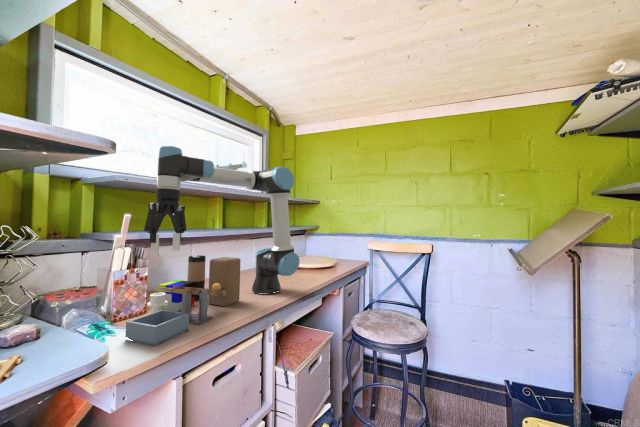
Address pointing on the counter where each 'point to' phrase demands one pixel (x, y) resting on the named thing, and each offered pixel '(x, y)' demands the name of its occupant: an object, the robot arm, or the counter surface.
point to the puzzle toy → (176, 295)
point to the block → (225, 280)
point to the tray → (157, 327)
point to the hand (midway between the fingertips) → (165, 251)
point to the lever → (192, 290)
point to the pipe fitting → (157, 301)
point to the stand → (203, 308)
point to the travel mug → (197, 271)
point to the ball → (216, 286)
